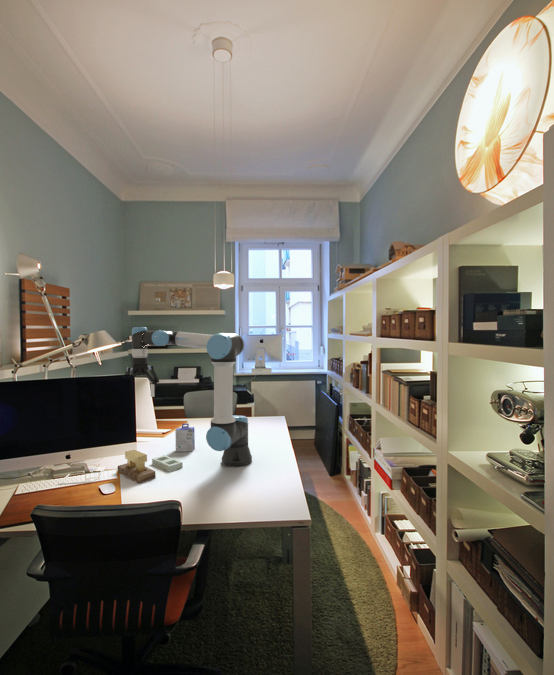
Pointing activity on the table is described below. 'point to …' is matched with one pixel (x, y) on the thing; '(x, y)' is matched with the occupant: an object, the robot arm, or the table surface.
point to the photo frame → (85, 481)
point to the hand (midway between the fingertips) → (140, 398)
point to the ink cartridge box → (185, 438)
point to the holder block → (167, 463)
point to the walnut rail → (134, 476)
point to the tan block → (136, 460)
